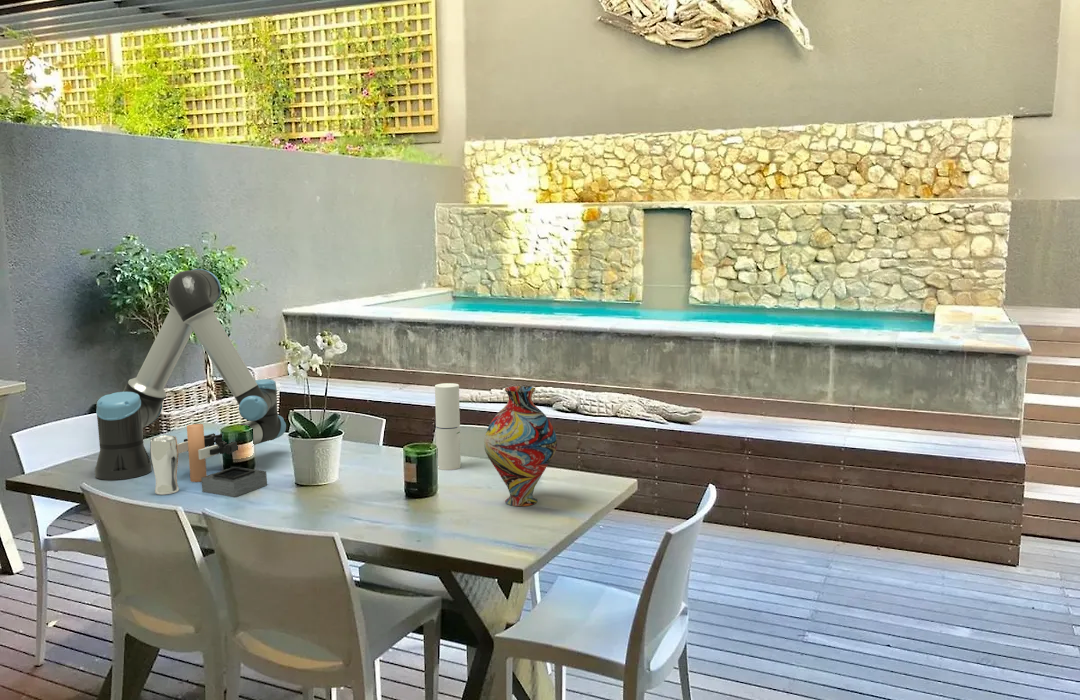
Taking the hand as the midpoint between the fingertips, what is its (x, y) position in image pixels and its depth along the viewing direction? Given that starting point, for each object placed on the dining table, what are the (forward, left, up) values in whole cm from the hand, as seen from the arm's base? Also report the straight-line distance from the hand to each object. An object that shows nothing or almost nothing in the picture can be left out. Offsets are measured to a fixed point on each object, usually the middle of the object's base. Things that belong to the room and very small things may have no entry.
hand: (185, 452), depth 239 cm
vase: (+94, +24, -9) cm, 97 cm away
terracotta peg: (0, +4, -9) cm, 10 cm away
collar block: (+16, +2, -9) cm, 18 cm away
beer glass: (+1, -8, -9) cm, 12 cm away
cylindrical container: (+59, +45, -9) cm, 75 cm away
